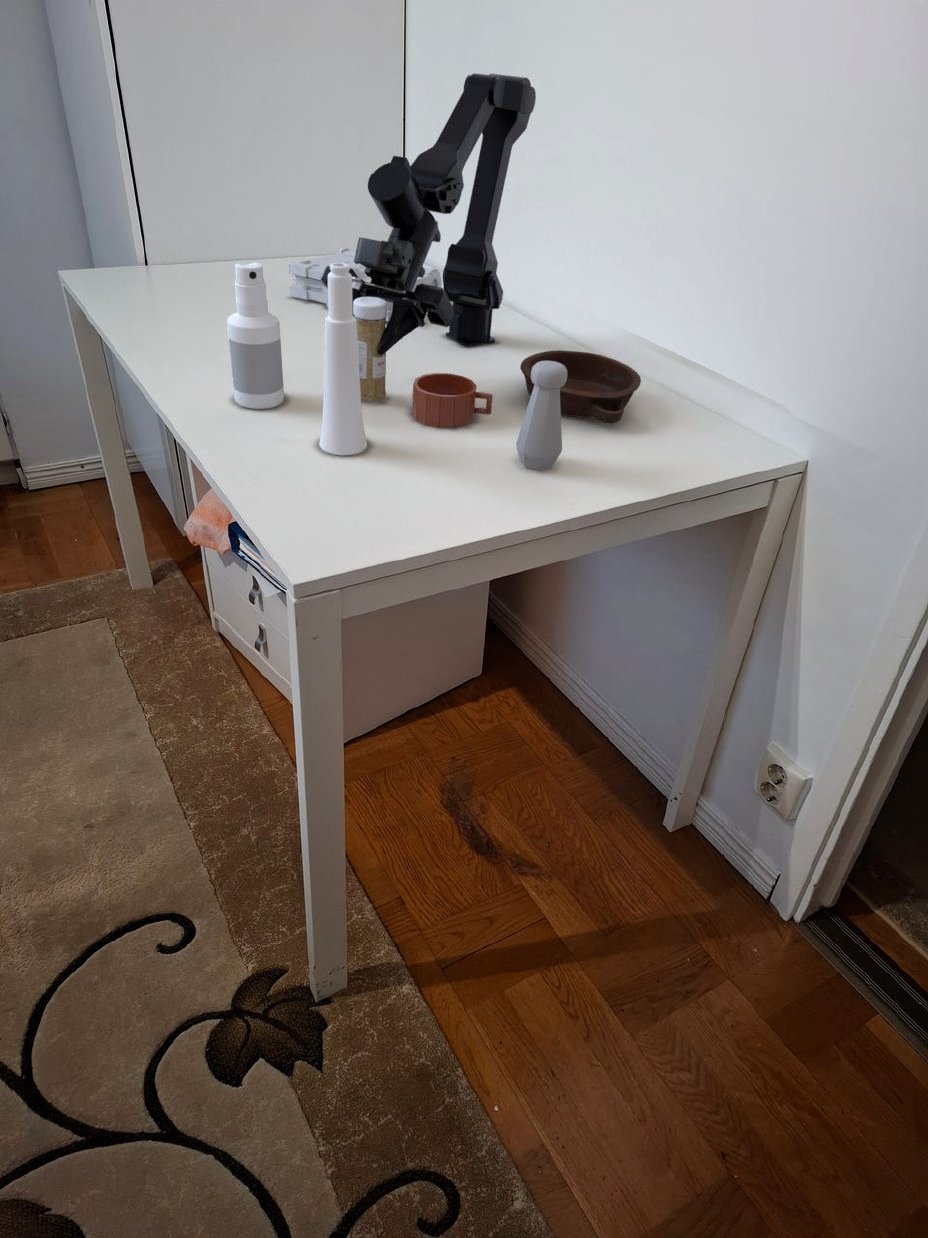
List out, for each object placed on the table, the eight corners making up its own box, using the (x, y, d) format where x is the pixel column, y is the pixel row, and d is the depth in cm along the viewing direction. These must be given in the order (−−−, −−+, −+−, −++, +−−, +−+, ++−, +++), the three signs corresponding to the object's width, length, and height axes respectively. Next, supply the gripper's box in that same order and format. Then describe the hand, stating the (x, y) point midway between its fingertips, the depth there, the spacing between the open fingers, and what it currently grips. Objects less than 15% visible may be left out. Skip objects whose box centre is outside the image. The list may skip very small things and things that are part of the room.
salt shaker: (511, 452, 107) (523, 354, 100) (554, 454, 108) (569, 356, 100) (517, 473, 103) (530, 371, 95) (562, 474, 103) (578, 373, 96)
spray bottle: (241, 412, 112) (228, 273, 101) (228, 394, 116) (215, 259, 106) (290, 406, 114) (282, 270, 104) (276, 388, 119) (267, 256, 108)
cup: (407, 424, 112) (408, 392, 110) (418, 400, 119) (419, 369, 117) (487, 433, 112) (490, 401, 109) (493, 408, 119) (496, 378, 116)
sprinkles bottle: (388, 401, 117) (389, 305, 109) (356, 402, 116) (355, 305, 108) (383, 389, 121) (384, 295, 113) (352, 390, 120) (351, 295, 112)
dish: (555, 438, 112) (560, 403, 109) (493, 379, 128) (496, 347, 125) (664, 427, 118) (672, 394, 115) (592, 372, 134) (597, 341, 131)
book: (330, 274, 170) (329, 234, 165) (444, 303, 159) (446, 261, 155) (265, 293, 156) (262, 250, 152) (386, 326, 145) (387, 281, 141)
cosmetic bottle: (371, 454, 104) (371, 271, 91) (323, 457, 103) (316, 272, 89) (362, 434, 109) (361, 257, 96) (316, 437, 107) (308, 257, 94)
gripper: (325, 200, 110) (281, 304, 109) (449, 223, 104) (403, 333, 103) (358, 251, 121) (318, 347, 119) (472, 274, 115) (431, 375, 113)
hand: (364, 350), depth 113 cm, fingers closed on sprinkles bottle, 4 cm apart
